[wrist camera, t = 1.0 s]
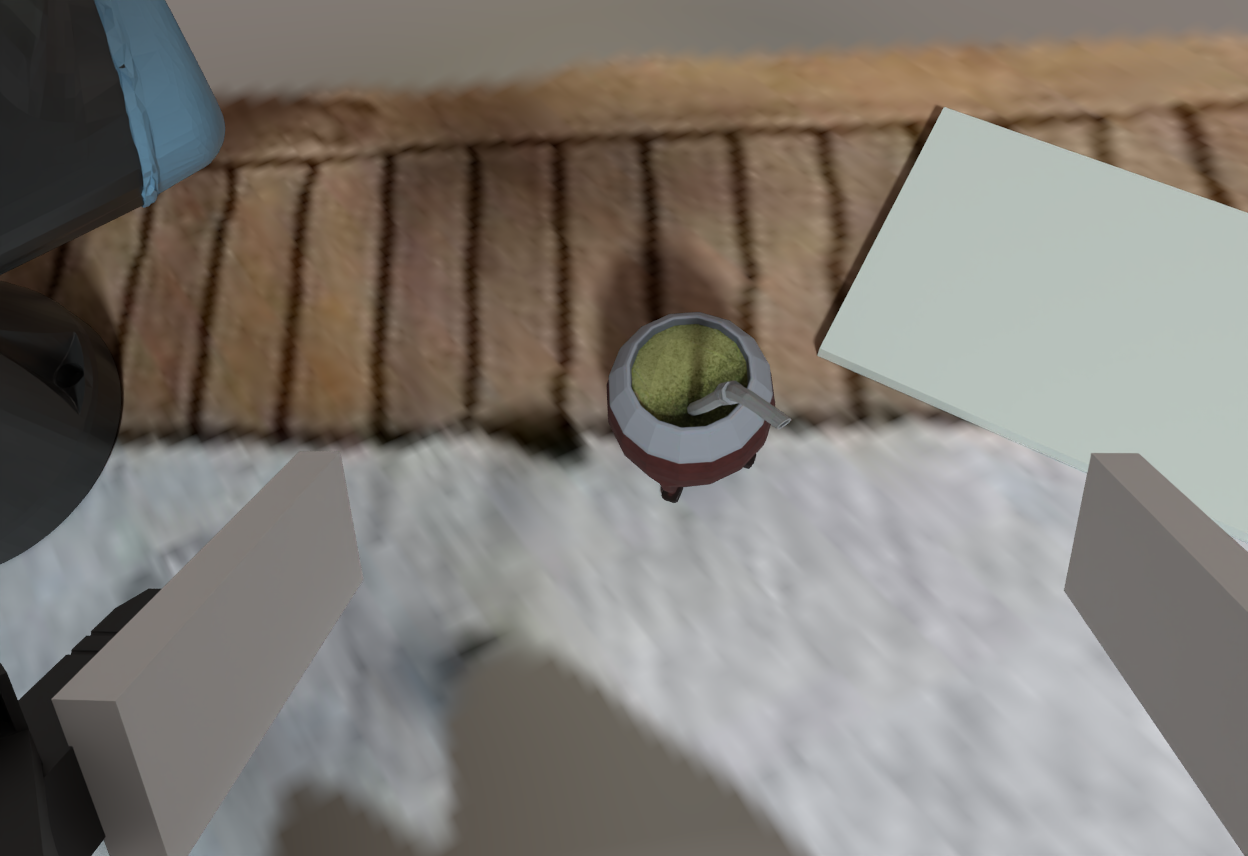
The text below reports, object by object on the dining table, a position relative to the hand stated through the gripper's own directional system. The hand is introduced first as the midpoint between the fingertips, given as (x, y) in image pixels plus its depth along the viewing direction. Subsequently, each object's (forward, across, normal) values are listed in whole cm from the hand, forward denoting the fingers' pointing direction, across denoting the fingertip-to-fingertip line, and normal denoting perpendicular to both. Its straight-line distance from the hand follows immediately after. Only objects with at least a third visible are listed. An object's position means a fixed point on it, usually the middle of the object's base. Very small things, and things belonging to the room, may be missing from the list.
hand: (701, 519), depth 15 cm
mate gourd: (+24, 0, -10) cm, 26 cm away
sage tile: (+29, +19, -5) cm, 35 cm away
